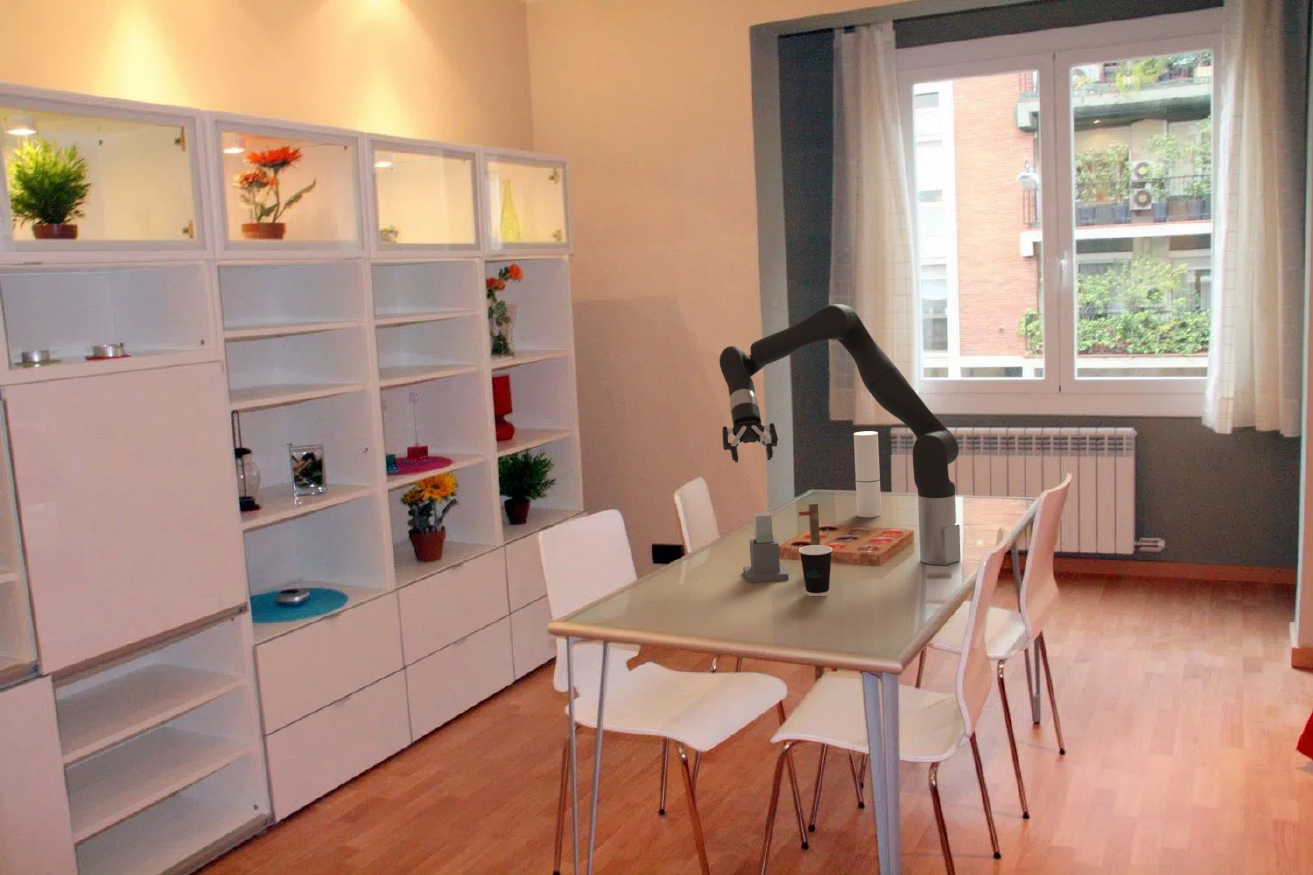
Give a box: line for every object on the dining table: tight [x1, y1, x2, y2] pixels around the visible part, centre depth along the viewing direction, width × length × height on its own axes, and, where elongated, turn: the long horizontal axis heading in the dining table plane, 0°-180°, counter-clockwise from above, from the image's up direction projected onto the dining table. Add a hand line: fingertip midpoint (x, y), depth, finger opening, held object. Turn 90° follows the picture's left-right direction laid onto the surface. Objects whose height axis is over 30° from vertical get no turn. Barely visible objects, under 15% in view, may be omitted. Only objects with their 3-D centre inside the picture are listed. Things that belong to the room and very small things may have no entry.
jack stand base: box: [742, 536, 790, 584], centre depth 290 cm, size 10×10×9 cm
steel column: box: [752, 511, 774, 544], centre depth 289 cm, size 4×4×14 cm
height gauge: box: [798, 502, 821, 545], centre depth 290 cm, size 6×4×18 cm
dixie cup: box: [798, 544, 833, 597], centre depth 271 cm, size 8×8×11 cm
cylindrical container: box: [853, 430, 882, 518], centre depth 346 cm, size 7×7×25 cm
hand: (753, 459), depth 298 cm, fingers open, 8 cm apart
